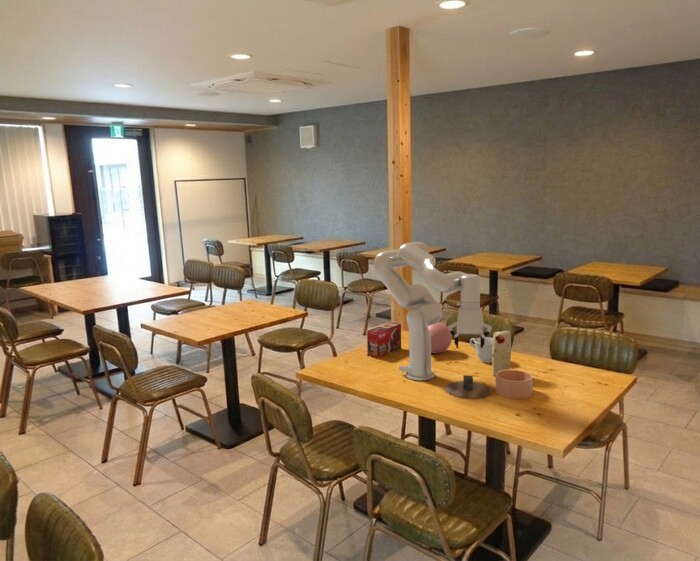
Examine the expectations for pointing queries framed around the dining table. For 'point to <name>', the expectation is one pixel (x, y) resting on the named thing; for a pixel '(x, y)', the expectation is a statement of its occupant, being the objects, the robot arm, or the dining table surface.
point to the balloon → (439, 337)
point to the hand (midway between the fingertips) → (469, 346)
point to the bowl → (514, 384)
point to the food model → (501, 351)
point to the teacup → (483, 349)
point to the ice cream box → (383, 339)
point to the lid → (468, 389)
